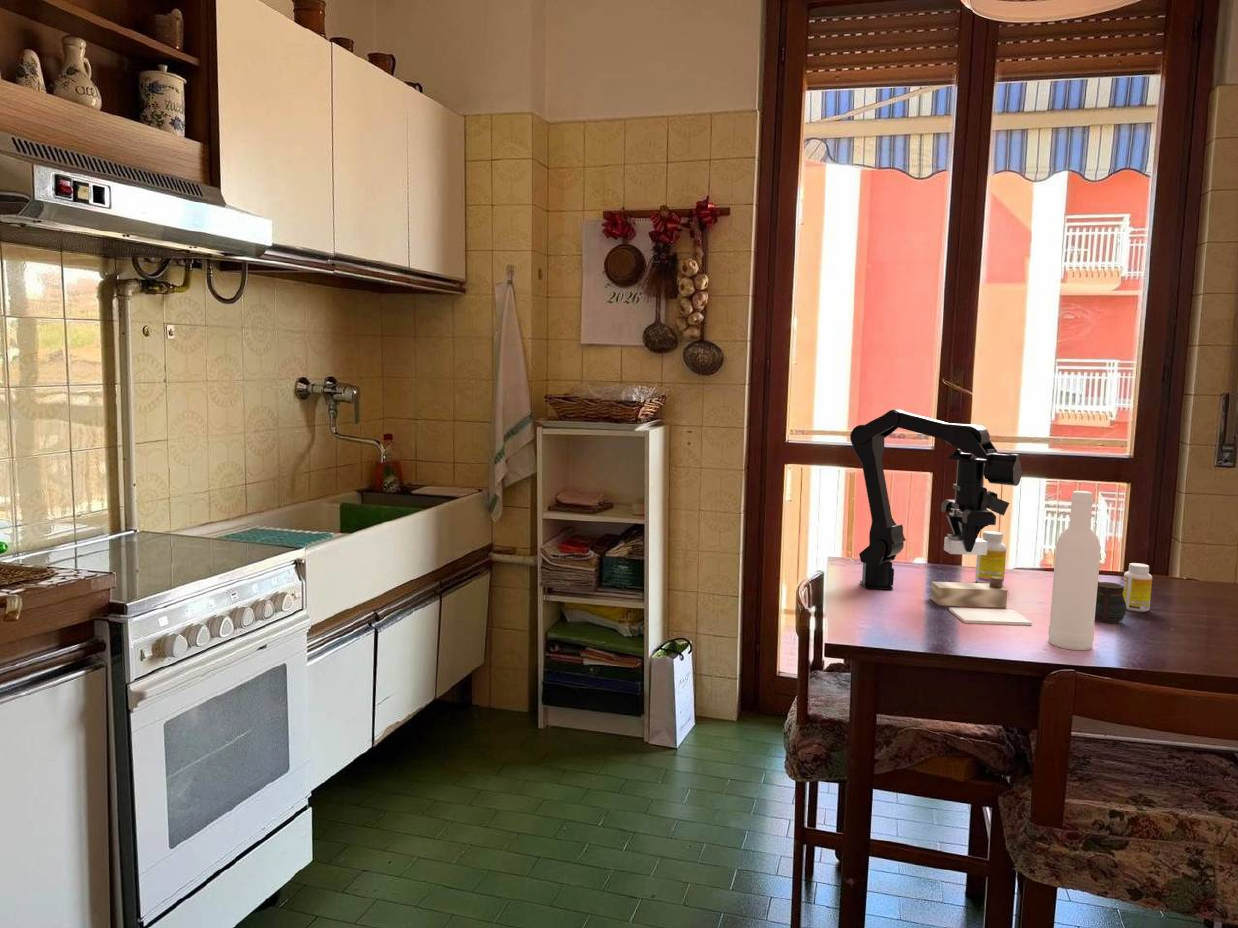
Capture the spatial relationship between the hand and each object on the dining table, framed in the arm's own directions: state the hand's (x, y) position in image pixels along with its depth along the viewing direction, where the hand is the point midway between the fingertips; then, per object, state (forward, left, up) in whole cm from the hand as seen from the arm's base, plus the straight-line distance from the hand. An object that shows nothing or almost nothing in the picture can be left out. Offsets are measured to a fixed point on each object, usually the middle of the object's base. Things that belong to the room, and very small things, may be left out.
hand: (965, 549), depth 208 cm
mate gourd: (+27, -11, -12) cm, 32 cm away
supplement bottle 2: (+39, 0, -12) cm, 41 cm away
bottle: (+11, -30, -12) cm, 34 cm away
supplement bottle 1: (+14, +21, -12) cm, 28 cm away
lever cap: (0, 0, -1) cm, 1 cm away
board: (+2, -12, -12) cm, 17 cm away
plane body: (+1, 0, -12) cm, 12 cm away
